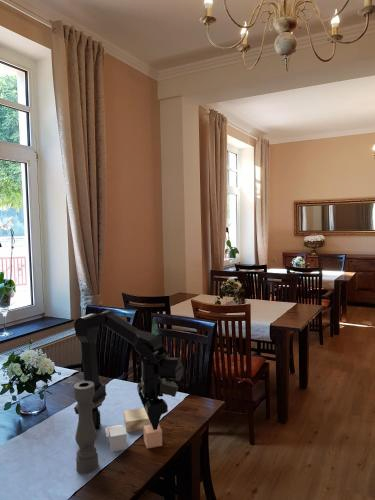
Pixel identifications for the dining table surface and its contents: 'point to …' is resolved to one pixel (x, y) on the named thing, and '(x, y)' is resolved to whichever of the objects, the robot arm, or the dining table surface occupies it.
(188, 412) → the dining table surface
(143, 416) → the maple base block
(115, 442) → the white cube
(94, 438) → the candle holder
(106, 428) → the card
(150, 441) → the terracotta block
